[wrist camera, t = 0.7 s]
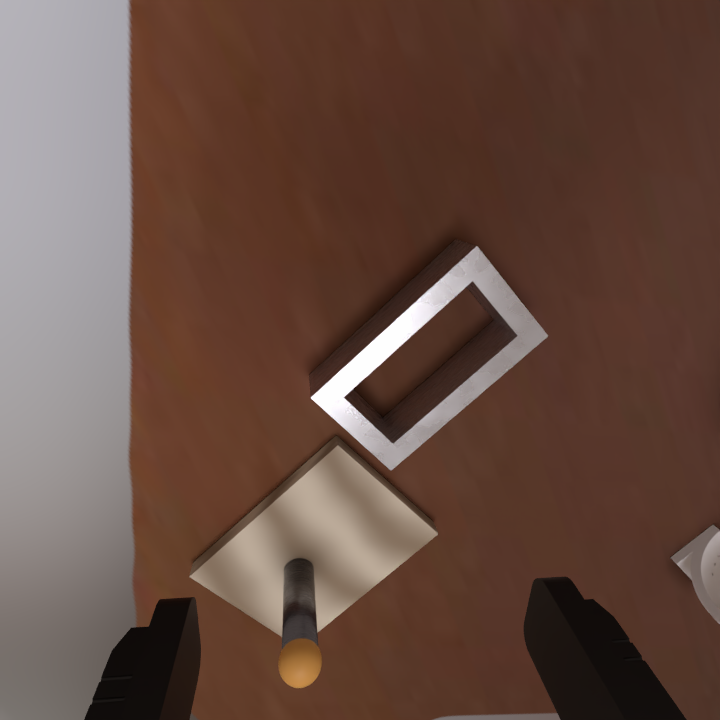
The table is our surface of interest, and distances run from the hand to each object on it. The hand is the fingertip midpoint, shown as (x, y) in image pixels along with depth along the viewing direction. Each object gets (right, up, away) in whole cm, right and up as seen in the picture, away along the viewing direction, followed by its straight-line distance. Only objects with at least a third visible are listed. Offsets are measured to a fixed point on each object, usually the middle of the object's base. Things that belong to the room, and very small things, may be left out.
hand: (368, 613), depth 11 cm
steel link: (+4, +7, +24) cm, 25 cm away
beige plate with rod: (-4, -9, +28) cm, 30 cm away
